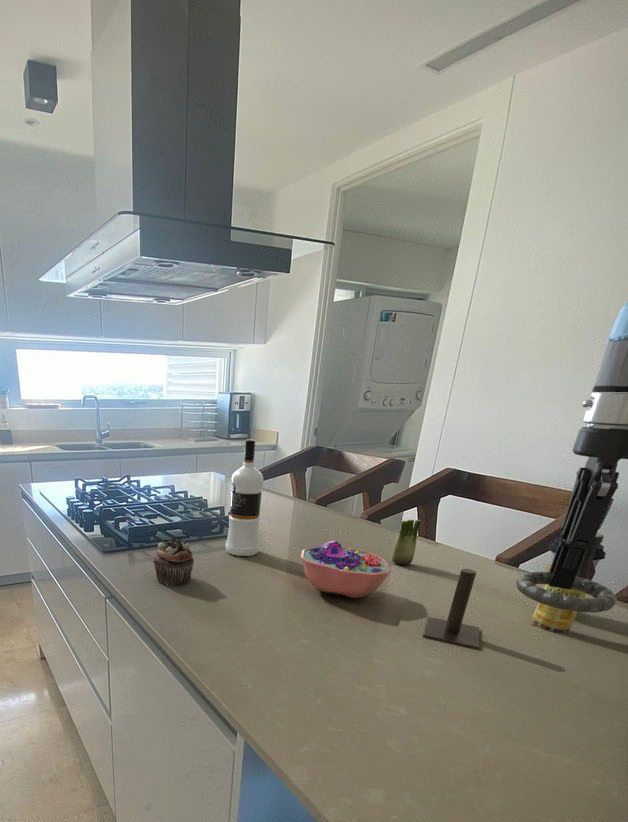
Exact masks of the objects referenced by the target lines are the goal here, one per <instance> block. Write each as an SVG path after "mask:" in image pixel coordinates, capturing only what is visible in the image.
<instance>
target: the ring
mask: <svg viewBox="0 0 628 822" xmlns="http://www.w3.org/2000/svg"><path fill="white" fill-rule="evenodd" d="M552 575H553V572H545V571H531V572H530V571H529V572H526V573H523V574H521V576H519V577H518V578H517V579H516V580H515V581H516V582H515V584H516V588H517V590H518V591H519V592H520V593H521V594H522V595H524V596H525V597H527V598H528V599H531V600H532V601H535V602H537V603H541V604H545V605H548V606H551V607H555V608H558V609H564V610H569V611H575V612H578V613H590V614H591V613H593V614H595V613H602V612H607V611H610V610H611V609H612V608H614V606H615V605H616V604H617V603H618V598H617V596H616V595H615V593H614V592H613V591H612V589H609V588H608V587H606V586H605V585H602V584H601V583H598V582H595V581H593V580H592V581H590V580H588V579H585V578H581V577H577V576H576V577H575V580H574V582H573V585H572V588H571V589H574V590H578V591H581V592H583V593H586V595H588V596H591V597H592V598H590V597H585V598H577V597H572V596H566V595H561V594H558V593H554V592H550V591H547V590H545V589H543V588H542V587H540V586H537V585H542V584H547V585H549V583H550V580H551V578H552Z"/></svg>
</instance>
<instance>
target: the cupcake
mask: <svg viewBox="0 0 628 822" xmlns="http://www.w3.org/2000/svg"><path fill="white" fill-rule="evenodd" d="M157 547H158V549H157V550H156V556H155V557H154V558H153V559H152V561H153V566H154V570H155V576H156V581H157V580H158V581H159V582H158V581H157V582H158V583H160V582H161V583H160V584H162V583H164V584H168V585H167V586H169V585H180V586H182V585H181V584H183V585H186V584H185V583H187V582H188V581H189V580H190V581H191V577H192V572H193V568H194V563H195V561H194V558H193V552H192V551H191V549H190V543H188V542H186V541H181V540H180V541H179V538H178V537H174V538H172V539H162V540H161V542H159V543H158V544H157ZM190 581H189V582H190ZM189 582H188V583H189ZM188 583H187V584H188ZM164 584H163V585H164Z"/></svg>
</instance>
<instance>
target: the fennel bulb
mask: <svg viewBox="0 0 628 822" xmlns="http://www.w3.org/2000/svg"><path fill="white" fill-rule="evenodd" d="M421 521H422V520H420V519H407V520H401V522H400V529H399V533H398V538H397V540H396V542H395V545H394V549H393V552H392V557H391V561H392V562H393V563H394V564H396V565H403V566H405V565H406V566H407V565H410V564H411V563H412V562H413V560H414V557H415V550H416V546H417V544H416V543H417V537H418V533H419V528H420V525H421Z"/></svg>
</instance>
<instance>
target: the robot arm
mask: <svg viewBox="0 0 628 822" xmlns="http://www.w3.org/2000/svg"><path fill="white" fill-rule="evenodd" d="M606 342H607V344H606V347H605V350H604V353H603V358H602V360H601V363H600V367H599V369H598V373H597V376H596V379H595V382H594V386H593V388H592V391H591V392H592V393H591V395H590V399H586V400H584V401H583V402H582V407H583V408H586V410H585V411H584V412H585V413H584V416H583V419H582V422H583V423H584V424H586V426H582V427H581V428H580V429H578V432H577V435H576V439H575V442H574V443H573V447H572V453H573V455H576V456H581V457H587V460H586V462H585V465H584V467H582V466H580V467H579V469H578V470H577V472H576V478H575V482H574V486H573V489H572V492H571V495H570V498H569V502H568V505H567V508H566V511H565V514H564V518H563V521H562V524H561V526H560V528H559V532H560V533H561V534H560V537H561V539H564V540H563V541H562V540H560V542H559V545H558V548H557V551H556V554H555V556H554V559H553V562H552V565H551V568H550V571H549V572H553V575H552V578H551V580H550V583H549V586H552V587H558V588H564V589H570V590H571V588H572V585H573V582H574V580H575V577H576V574H577V572H578V569H579V566H580V563H581V561H582V558H583V555H584V553H585V550H586V549H590V548H591V547H592V545H593V541H594V539H595V536H596V534H597V533H599V532H598V531H599V529H600V527H601V524H602V523H603V520H604V517H605V516H606V515H605V514H606V513H607V510H608V508H609V505H610V502H611V500H612V499H613V497H614V495H615V493H616V491H617V490H618V488H619V483H618V482H617V481H618V479H619V476H620V472H619V471H617V468H618V463H619V461H620V460H628V302H626V303H625V304H623V306H622V307H621V309H620V310H619V311H618V314H617V317H616V318H615V321H614V324H613V326H612V328H611V331H610V333H609V336H608V337H607V340H606ZM560 537H559V538H560Z"/></svg>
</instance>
